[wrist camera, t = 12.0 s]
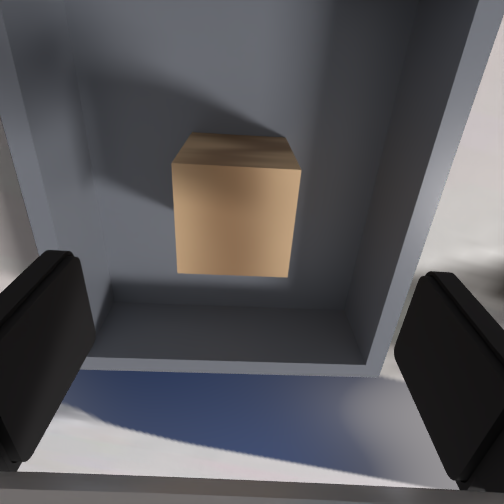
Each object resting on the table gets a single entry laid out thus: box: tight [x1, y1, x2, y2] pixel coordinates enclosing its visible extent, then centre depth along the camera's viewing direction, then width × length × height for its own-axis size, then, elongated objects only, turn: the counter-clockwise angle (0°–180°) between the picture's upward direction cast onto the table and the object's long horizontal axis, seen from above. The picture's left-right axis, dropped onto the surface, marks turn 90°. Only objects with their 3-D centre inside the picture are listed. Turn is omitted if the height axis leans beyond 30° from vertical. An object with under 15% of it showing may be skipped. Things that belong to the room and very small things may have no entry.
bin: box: [0, 0, 504, 377], centre depth 18 cm, size 18×20×6 cm
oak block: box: [171, 132, 301, 277], centre depth 17 cm, size 5×5×6 cm
